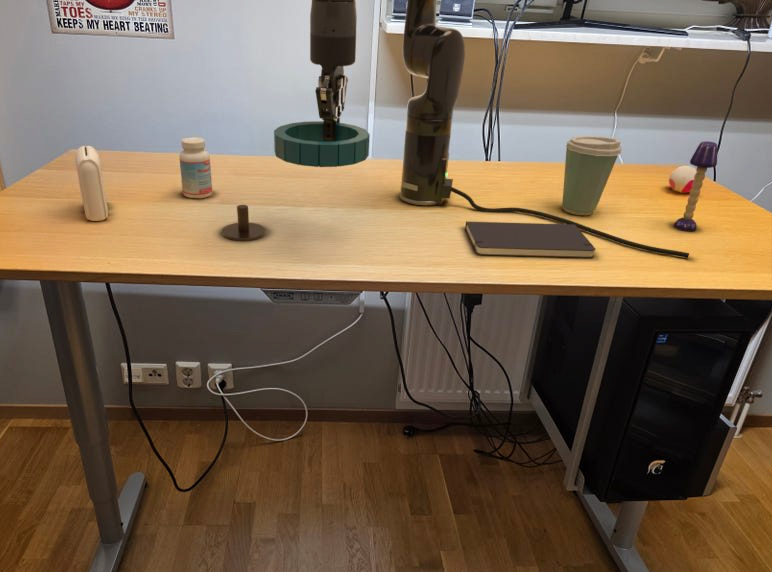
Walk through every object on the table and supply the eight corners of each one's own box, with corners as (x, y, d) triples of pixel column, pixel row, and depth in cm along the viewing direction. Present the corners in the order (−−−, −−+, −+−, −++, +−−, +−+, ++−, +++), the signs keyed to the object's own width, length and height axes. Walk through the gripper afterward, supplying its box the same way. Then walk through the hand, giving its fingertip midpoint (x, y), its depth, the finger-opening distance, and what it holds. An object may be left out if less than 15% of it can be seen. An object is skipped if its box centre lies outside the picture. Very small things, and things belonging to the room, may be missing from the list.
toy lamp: (684, 233, 129) (712, 147, 120) (665, 225, 132) (690, 140, 123) (700, 229, 131) (729, 144, 122) (681, 222, 134) (707, 138, 125)
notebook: (573, 232, 127) (464, 229, 126) (575, 224, 126) (465, 221, 126) (595, 258, 116) (476, 255, 116) (597, 250, 116) (477, 246, 115)
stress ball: (676, 210, 150) (699, 191, 145) (654, 183, 152) (676, 163, 147) (692, 202, 154) (715, 184, 149) (671, 176, 156) (693, 157, 151)
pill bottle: (206, 200, 135) (201, 145, 129) (178, 197, 136) (172, 142, 130) (217, 191, 140) (213, 137, 134) (190, 188, 141) (185, 135, 135)
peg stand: (271, 227, 123) (270, 201, 121) (257, 243, 117) (256, 216, 114) (231, 223, 125) (229, 197, 122) (215, 238, 118) (213, 211, 115)
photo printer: (84, 204, 130) (72, 141, 124) (107, 203, 131) (96, 140, 125) (85, 222, 122) (73, 155, 115) (109, 220, 123) (98, 154, 117)
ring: (375, 146, 115) (376, 125, 113) (357, 170, 102) (358, 148, 101) (290, 138, 118) (290, 118, 116) (262, 161, 105) (261, 139, 103)
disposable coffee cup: (543, 209, 138) (558, 136, 130) (567, 198, 144) (583, 128, 136) (590, 223, 132) (609, 147, 124) (613, 211, 138) (632, 138, 130)
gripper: (346, 38, 100) (343, 152, 109) (364, 29, 111) (360, 133, 121) (299, 34, 101) (300, 148, 111) (321, 26, 113) (320, 130, 122)
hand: (331, 140), depth 116 cm, fingers closed on ring, 2 cm apart
